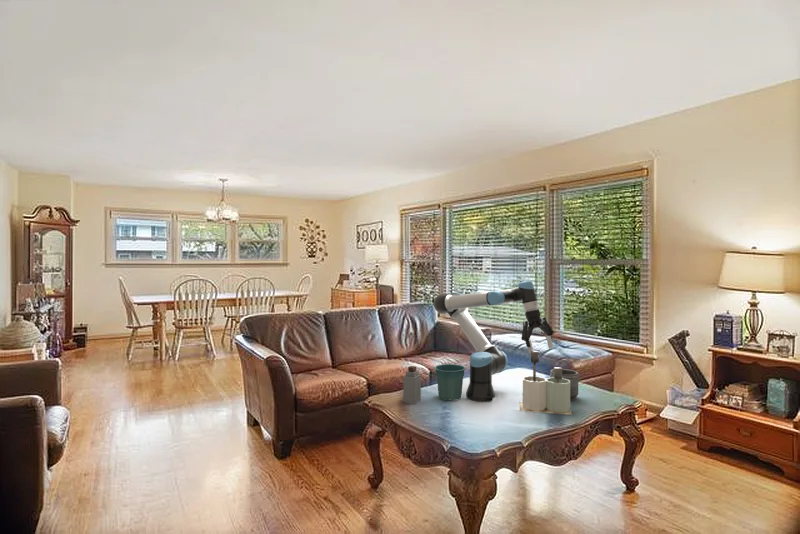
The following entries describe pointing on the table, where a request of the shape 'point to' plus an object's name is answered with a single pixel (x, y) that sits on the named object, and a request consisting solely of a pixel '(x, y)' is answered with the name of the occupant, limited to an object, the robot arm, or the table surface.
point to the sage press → (558, 393)
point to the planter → (573, 379)
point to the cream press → (534, 394)
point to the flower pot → (450, 381)
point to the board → (542, 410)
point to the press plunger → (534, 365)
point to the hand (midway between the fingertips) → (541, 350)
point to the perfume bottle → (412, 386)
